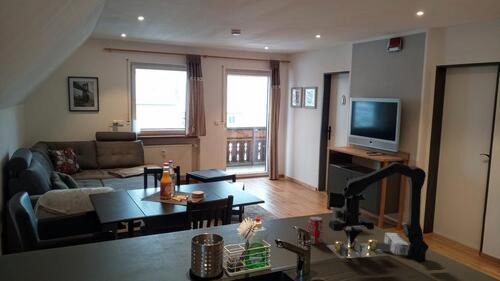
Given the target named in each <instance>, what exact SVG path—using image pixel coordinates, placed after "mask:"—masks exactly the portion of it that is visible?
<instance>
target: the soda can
mask: <svg viewBox="0 0 500 281" xmlns="http://www.w3.org/2000/svg"><path fill="white" fill-rule="evenodd" d="M306 227H307V228H306V229H307V230H306V232H307V231H309V232H310V233H311V243H310V244H313V245H320V244H322V243H323V235H324V234H323V233H324V232H323V231H324V221H323V217H321V216H317V215H316V216H315V215H312V216H309V217H308V220H307V226H306Z"/></svg>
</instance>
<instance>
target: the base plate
mask: <svg viewBox="0 0 500 281" xmlns="http://www.w3.org/2000/svg"><path fill="white" fill-rule="evenodd" d="M360 244H361V245H362V252H358V251H357V250H356V249H355V248H350V247H348V243H346V244H345V243H344V246H345V247H346V248H347V249H348V250H349V251H348V256H345V255H343V254H342V253H341V252H337V251H335V250H334V247H335V244H330V245H329V244H326V247H327V248H329V250H331V251H332V252H333V253H334V254H335V255H336V256H337V257H338V258H339V259H353V258H357V259H358V258H371V257H388V255H389V254H387V253H385V251H384V250H381V249H377V250H370V249H368V242H367V243H364V242H363V243H360Z"/></svg>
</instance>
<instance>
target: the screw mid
mask: <svg viewBox="0 0 500 281" xmlns="http://www.w3.org/2000/svg"><path fill="white" fill-rule="evenodd" d="M358 239H359V238H357V237H356V239H355V240H354V242H353V243H352V245H350V244H349V242H348V241H347V244H348V247H350V248H355V249H356V250H357V251H358V252H362V245H361V244H362V243H360V242H359V240H358Z"/></svg>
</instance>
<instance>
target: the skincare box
mask: <svg viewBox="0 0 500 281" xmlns="http://www.w3.org/2000/svg"><path fill="white" fill-rule="evenodd" d="M345 209H346V199H345V206H343V207H342V208H332V220H331V221H336V220H338V221H339V222H341V223H345V222H343V221H342V220H339V218H336V217H335V212H336V211H341V213H344V210H345Z"/></svg>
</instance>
